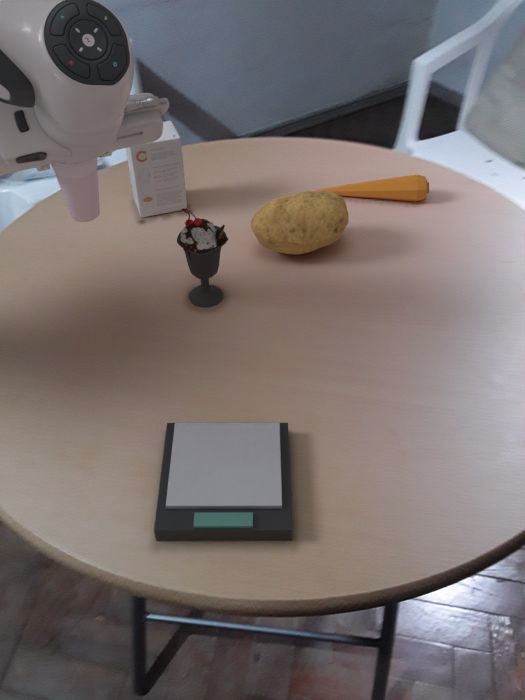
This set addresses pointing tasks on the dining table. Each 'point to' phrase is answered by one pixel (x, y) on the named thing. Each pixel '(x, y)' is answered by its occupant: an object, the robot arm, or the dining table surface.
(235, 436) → the scale
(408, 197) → the carrot
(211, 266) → the sundae
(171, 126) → the small box
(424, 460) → the dining table surface
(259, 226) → the potato
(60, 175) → the smoothie
